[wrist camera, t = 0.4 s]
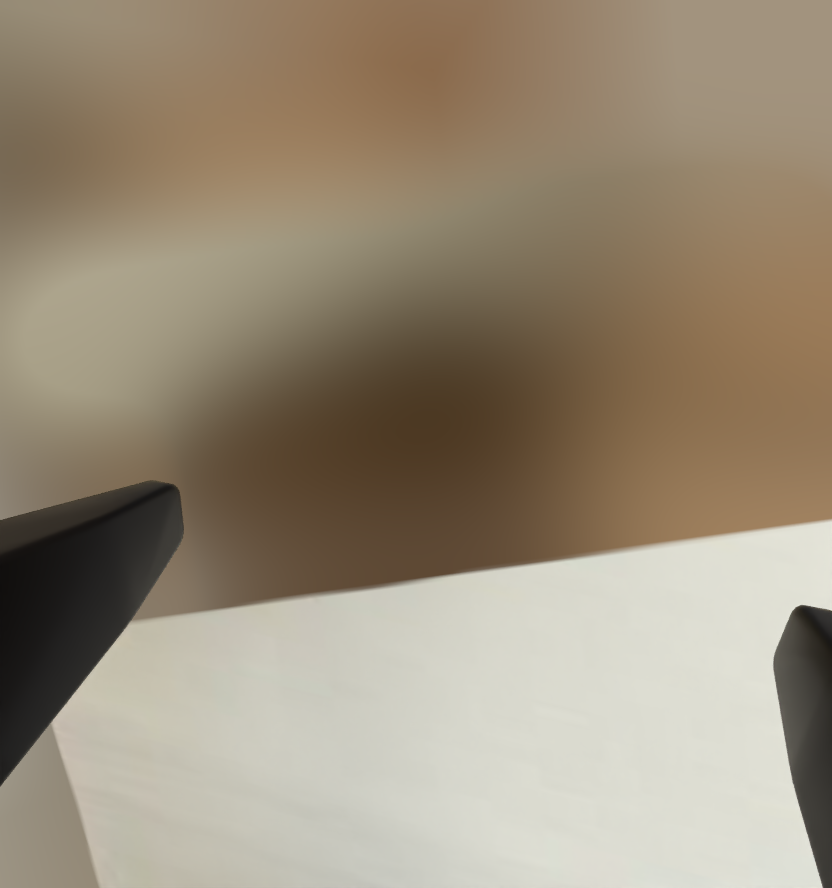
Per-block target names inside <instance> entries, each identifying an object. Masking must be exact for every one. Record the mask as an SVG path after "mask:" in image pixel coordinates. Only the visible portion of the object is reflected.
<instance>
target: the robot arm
mask: <svg viewBox="0 0 832 888" xmlns="http://www.w3.org/2000/svg"><path fill="white" fill-rule="evenodd" d="M183 533H184V525H183V516H182V508H181V499H180V492H179V490H178V488H177V487H176V486H175V485H173V484H169V483H164V482H159V481H146V482H142V483H139V484H135V485H131V486H128V487H124V488H120V489H116V490H113V491H108V492H105V493H101V494H98V495H93V496H90V497H86V498H82V499H78V500H75V501H71V502H67V503H64V504H60V505H56V506H52V507H48V508H44V509H41V510H37V511H33V512H29V513H26V514H22V515H18V516H14V517H11V518H7V519H3V520H0V786H1V785H2V784H3V782H4V781H5V780H6V779H7V777H8V776H9V775H10V774H11V772H12V771H13V770H14V768H15V767H16V766H17V765H18V764H19V762H20V761H21V760H22V758H23V757H24V756H25V755H26V753H27V752H28V751H29V750H30V748H31V747H32V746H33V745H34V743H35V742H36V741H37V740H38V738H39V737H40V736H41V734H42V733H43V732H44V731H45V729H46V728H47V727H48V726H49V724H50V723H51V722H52V721H53V719H54V718H55V717H56V716H57V714H58V713H59V712H60V710H61V709H62V708H63V707H64V705H65V704H66V703H67V702H68V700H69V699H70V698H71V697H72V695H73V694H74V693H75V691H76V690H77V689H78V688H79V686H80V685H81V684H82V683H83V681H84V680H85V679H86V678H87V676H88V675H89V674H90V673H91V671H92V670H93V669H94V667H95V666H96V665H97V664H98V662H99V661H100V660H101V659H102V657H103V656H104V655H105V654H106V652H107V651H108V650H109V648H110V647H111V646H112V645H113V643H114V642H115V641H116V640H117V638H118V637H119V636H120V635H121V633H122V632H123V631H124V629H125V628H126V627H127V625H128V624H129V623H130V621H131V620H132V618H133V617H134V615H135V614H136V612H137V611H138V610H139V608H140V606H141V605H142V603H143V602H144V600H145V599H146V597H147V596H148V594H149V592H150V591H151V589H152V588H153V586H154V585H155V583H156V581H157V580H158V578H159V576H160V575H161V574H162V572H163V570H164V569H165V567H166V566H167V564H168V563H169V561H170V559H171V558H172V556H173V555H174V553H175V552H176V550H177V548H178V547H179V545H180V543H181V541H182V538H183ZM773 668H774V675H775V681H776V687H777V693H778V699H779V705H780V711H781V717H782V723H783V729H784V735H785V742H786V748H787V754H788V760H789V765H790V770H791V775H792V780H793V784H794V788H795V792H796V795H797V799H798V803H799V806H800V810H801V813H802V817H803V820H804V824H805V827H806V831H807V834H808V838H809V841H810V845H811V848H812V851H813V855H814V858H815V862H816V865H817V869H818V872H819V876H820V879H821V883H822V886H823V888H832V611H831V610H827V609H822V608H816V607H811V606H806V605H800V606H798V607H796V608H795V609H794V610H793V611H792V613H791V615H790V617H789V620H788V622H787V625H786V627H785V629H784V632H783V634H782V637H781V639H780V641H779V644H778V646H777V649H776V651H775V655H774V662H773Z"/></svg>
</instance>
